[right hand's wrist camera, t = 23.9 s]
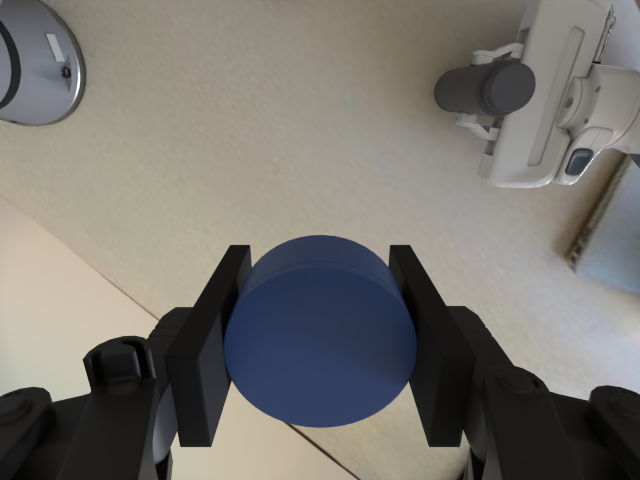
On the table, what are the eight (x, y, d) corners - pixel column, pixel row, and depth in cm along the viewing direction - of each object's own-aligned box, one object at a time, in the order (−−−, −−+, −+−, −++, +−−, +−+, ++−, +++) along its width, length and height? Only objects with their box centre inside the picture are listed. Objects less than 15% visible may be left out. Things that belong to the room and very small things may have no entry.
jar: (464, 116, 49) (526, 124, 34) (428, 105, 49) (475, 109, 34) (480, 76, 47) (552, 66, 33) (443, 64, 47) (499, 49, 32)
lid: (246, 223, 11) (229, 253, 9) (418, 247, 12) (440, 282, 10) (234, 363, 13) (217, 417, 11) (382, 381, 14) (394, 437, 11)
